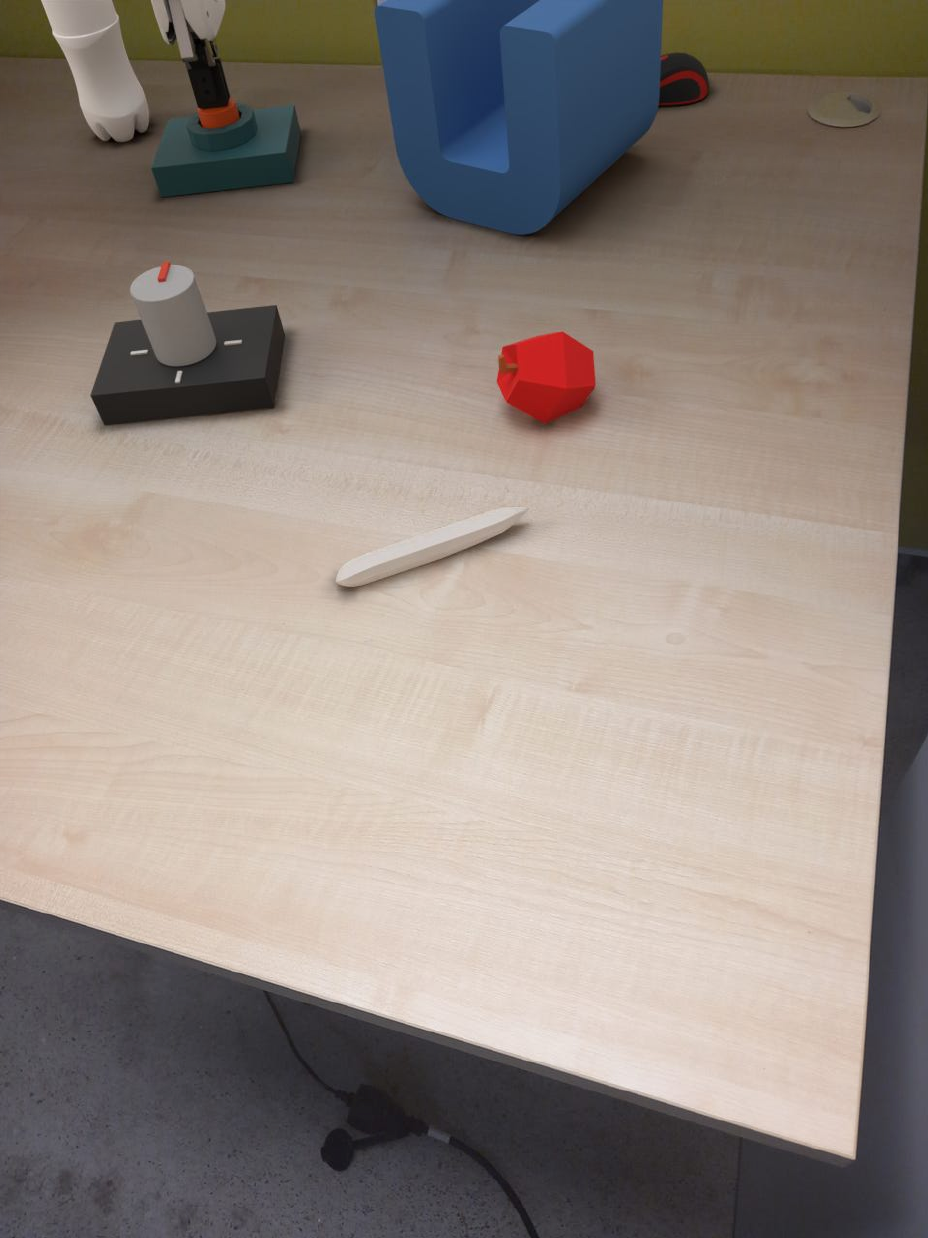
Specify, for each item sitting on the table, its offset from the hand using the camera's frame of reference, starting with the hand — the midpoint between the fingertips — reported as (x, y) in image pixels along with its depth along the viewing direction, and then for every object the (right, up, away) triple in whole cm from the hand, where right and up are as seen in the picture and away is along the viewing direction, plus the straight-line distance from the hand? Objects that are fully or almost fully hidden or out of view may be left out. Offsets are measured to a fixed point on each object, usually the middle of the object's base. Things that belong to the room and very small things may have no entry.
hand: (214, 103), depth 105 cm
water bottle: (-14, +3, +13) cm, 19 cm away
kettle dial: (+3, -31, -22) cm, 38 cm away
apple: (+32, -36, -26) cm, 55 cm away
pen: (+24, -49, -35) cm, 65 cm away
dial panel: (+3, -33, -20) cm, 38 cm away
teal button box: (+1, -4, +5) cm, 6 cm away
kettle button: (0, -1, +1) cm, 2 cm away
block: (+32, -10, -4) cm, 34 cm away
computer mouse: (+46, +3, +5) cm, 47 cm away
